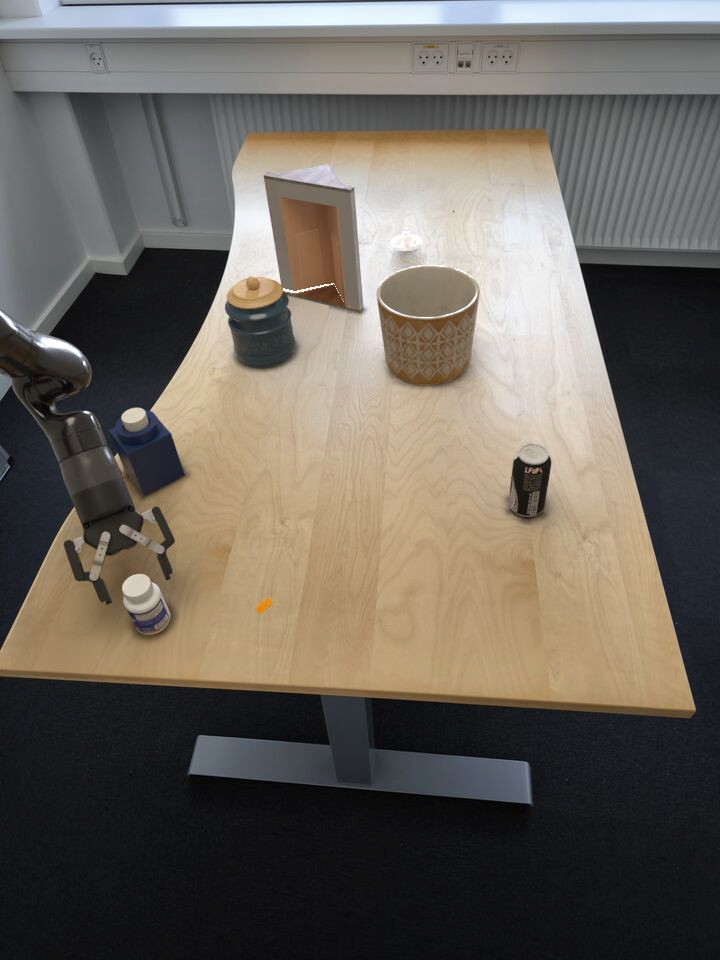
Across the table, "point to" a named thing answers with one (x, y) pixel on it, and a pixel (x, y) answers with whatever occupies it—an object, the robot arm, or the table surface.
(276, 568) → the table surface
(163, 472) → the blue push button box
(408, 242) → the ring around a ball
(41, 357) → the robot arm
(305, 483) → the table surface
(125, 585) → the pill bottle
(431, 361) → the planter
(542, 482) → the beverage can
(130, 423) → the white bottle cap
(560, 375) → the table surface
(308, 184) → the cabinet
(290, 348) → the canister
